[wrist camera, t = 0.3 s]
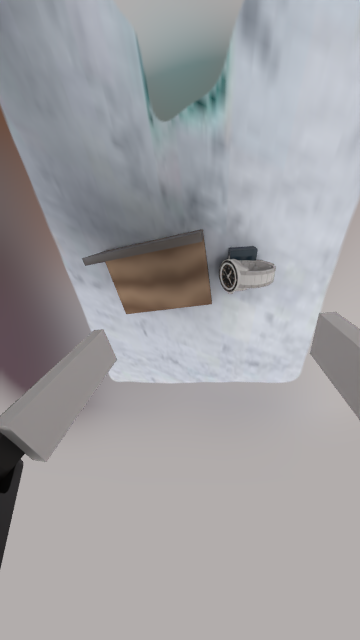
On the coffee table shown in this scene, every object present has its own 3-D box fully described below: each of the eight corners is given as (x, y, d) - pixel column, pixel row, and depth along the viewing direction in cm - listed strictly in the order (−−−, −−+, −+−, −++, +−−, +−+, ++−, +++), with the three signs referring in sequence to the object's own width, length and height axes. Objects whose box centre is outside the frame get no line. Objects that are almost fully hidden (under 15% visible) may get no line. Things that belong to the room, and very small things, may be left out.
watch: (218, 248, 32) (220, 261, 23) (264, 245, 31) (287, 257, 21) (217, 278, 35) (219, 300, 26) (259, 276, 34) (278, 299, 24)
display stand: (106, 250, 36) (82, 258, 29) (202, 229, 31) (200, 232, 24) (129, 310, 42) (114, 328, 35) (211, 300, 38) (211, 318, 31)
